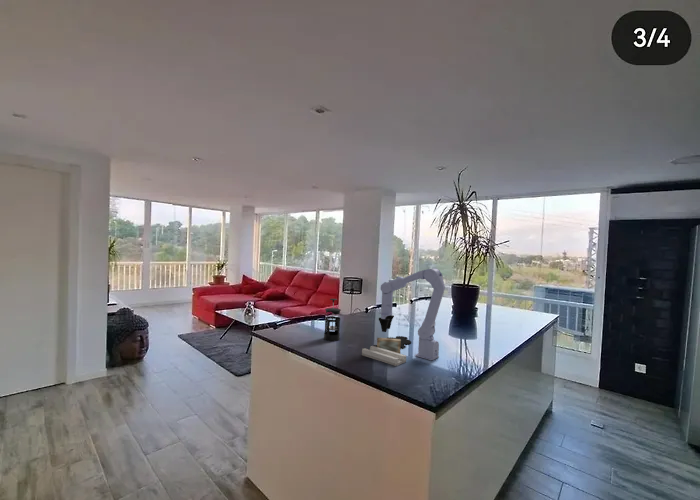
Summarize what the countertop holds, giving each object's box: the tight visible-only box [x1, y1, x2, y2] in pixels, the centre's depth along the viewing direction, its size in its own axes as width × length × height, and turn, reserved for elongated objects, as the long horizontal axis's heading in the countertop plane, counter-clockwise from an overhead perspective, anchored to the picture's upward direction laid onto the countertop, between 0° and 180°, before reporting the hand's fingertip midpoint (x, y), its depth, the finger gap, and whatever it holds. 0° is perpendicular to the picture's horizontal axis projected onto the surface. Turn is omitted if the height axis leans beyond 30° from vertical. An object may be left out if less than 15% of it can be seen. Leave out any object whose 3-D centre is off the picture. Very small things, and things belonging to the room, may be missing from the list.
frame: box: [376, 337, 401, 354], centre depth 168 cm, size 12×3×6 cm, turn 83°
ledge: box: [361, 345, 407, 367], centre depth 156 cm, size 20×8×3 cm, turn 48°
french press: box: [323, 298, 342, 342], centre depth 187 cm, size 12×9×23 cm
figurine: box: [372, 335, 412, 350], centre depth 183 cm, size 16×1×30 cm
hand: (385, 330), depth 173 cm, fingers open, 7 cm apart
